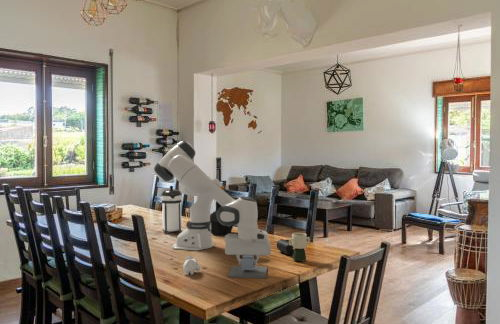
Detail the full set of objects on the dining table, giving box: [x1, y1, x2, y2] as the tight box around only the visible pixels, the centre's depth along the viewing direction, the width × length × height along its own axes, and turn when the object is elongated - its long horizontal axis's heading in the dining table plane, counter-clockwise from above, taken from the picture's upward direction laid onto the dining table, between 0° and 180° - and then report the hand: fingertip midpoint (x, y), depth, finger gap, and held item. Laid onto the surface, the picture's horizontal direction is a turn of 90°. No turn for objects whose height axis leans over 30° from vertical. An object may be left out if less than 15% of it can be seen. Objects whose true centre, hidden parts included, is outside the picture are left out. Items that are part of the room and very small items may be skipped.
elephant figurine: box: [180, 254, 203, 276], centre depth 185 cm, size 8×10×7 cm
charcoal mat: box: [227, 265, 268, 279], centre depth 185 cm, size 16×14×1 cm
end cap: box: [276, 238, 295, 257], centre depth 216 cm, size 10×7×7 cm
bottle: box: [210, 185, 234, 236], centre depth 264 cm, size 16×16×30 cm
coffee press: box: [161, 185, 183, 235], centre depth 271 cm, size 17×16×30 cm
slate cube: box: [241, 256, 255, 270], centre depth 185 cm, size 5×5×5 cm
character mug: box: [288, 232, 311, 262], centre depth 202 cm, size 11×7×13 cm, turn 107°
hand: (248, 264), depth 185 cm, fingers closed on slate cube, 5 cm apart
